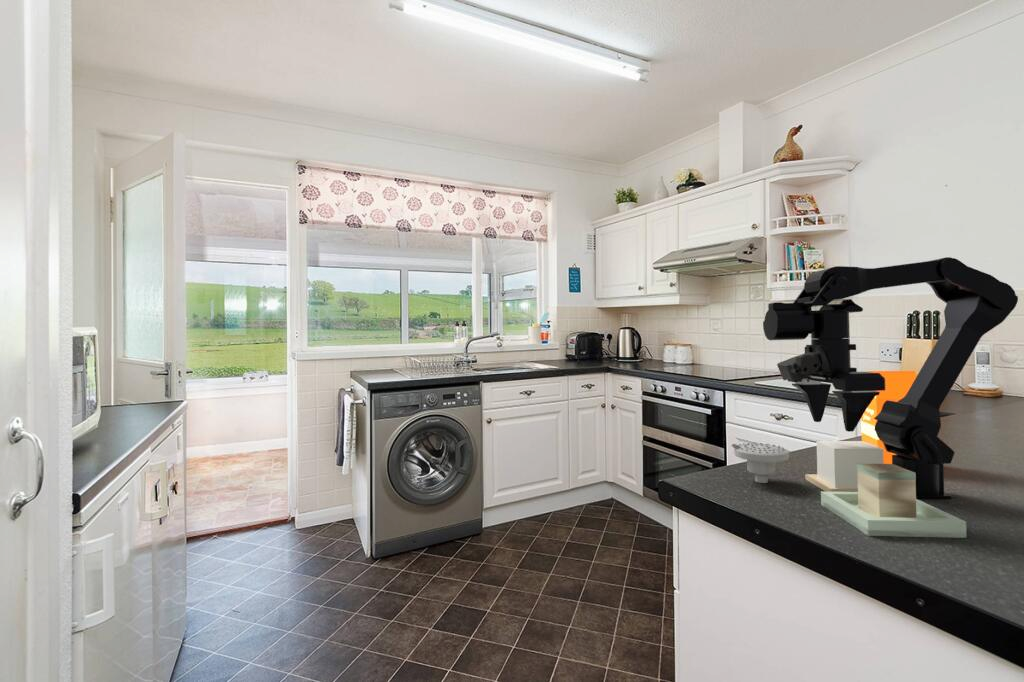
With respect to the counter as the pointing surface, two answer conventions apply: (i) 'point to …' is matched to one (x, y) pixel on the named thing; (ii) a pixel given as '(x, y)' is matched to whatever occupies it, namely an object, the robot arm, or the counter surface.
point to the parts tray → (894, 519)
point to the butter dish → (842, 464)
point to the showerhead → (761, 458)
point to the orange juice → (895, 391)
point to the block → (886, 490)
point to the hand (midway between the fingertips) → (832, 426)
